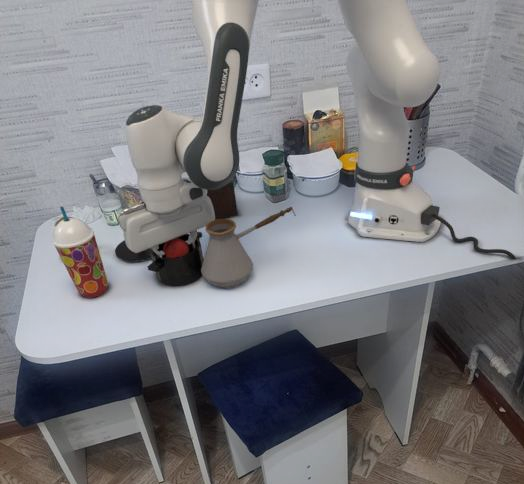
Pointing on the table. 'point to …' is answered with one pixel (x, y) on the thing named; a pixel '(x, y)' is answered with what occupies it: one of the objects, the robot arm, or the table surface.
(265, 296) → the table surface
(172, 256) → the red rounded piece
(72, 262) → the smoothie
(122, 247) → the pot lid
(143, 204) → the robot arm
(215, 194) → the coffee grinder
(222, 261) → the coffee pot
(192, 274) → the pot
